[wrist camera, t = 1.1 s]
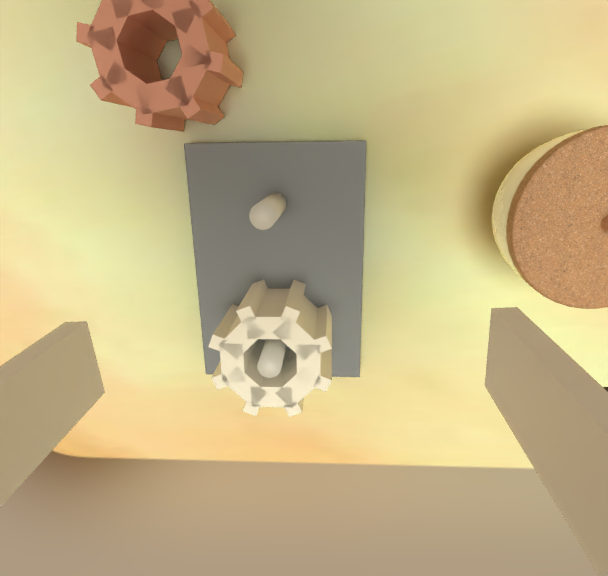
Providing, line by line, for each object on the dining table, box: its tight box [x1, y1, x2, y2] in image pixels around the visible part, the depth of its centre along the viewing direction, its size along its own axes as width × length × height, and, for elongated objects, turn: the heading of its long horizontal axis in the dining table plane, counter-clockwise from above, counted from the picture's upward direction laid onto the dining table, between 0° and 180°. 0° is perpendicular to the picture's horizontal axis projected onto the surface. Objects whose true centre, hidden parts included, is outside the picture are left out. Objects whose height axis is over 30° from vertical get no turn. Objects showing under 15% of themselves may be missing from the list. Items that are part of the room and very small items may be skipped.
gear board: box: [184, 141, 366, 417], centre depth 31 cm, size 19×13×8 cm
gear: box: [77, 0, 244, 131], centre depth 28 cm, size 8×8×6 cm
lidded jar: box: [492, 125, 608, 309], centre depth 27 cm, size 11×11×9 cm
